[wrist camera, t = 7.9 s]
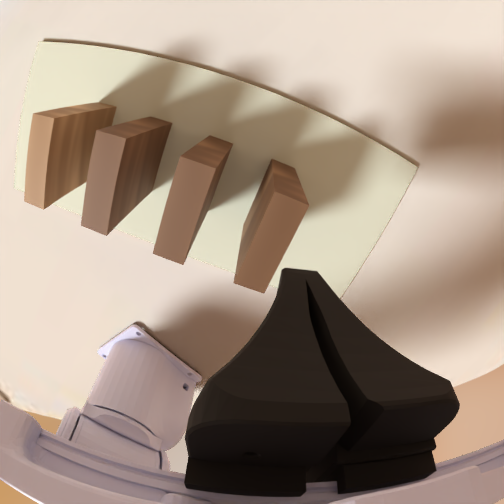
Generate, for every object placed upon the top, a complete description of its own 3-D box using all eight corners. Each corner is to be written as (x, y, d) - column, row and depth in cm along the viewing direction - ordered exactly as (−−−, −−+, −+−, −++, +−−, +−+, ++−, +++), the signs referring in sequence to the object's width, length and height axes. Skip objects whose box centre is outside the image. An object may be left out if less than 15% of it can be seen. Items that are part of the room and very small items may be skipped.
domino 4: (294, 168, 19) (309, 205, 13) (264, 232, 21) (263, 293, 15) (271, 158, 18) (274, 191, 12) (243, 224, 21) (233, 283, 15)
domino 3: (233, 143, 18) (216, 168, 12) (208, 211, 20) (183, 264, 14) (209, 135, 18) (180, 156, 12) (186, 203, 20) (152, 253, 14)
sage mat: (415, 165, 18) (418, 167, 18) (333, 304, 24) (334, 307, 24) (41, 41, 14) (38, 41, 14) (16, 186, 20) (13, 188, 20)
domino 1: (116, 106, 17) (54, 118, 11) (101, 173, 19) (43, 209, 13) (98, 102, 17) (33, 113, 11) (84, 167, 19) (24, 201, 13)
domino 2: (172, 122, 17) (126, 138, 11) (152, 191, 20) (106, 235, 14) (150, 116, 17) (96, 130, 11) (132, 184, 20) (81, 225, 13)
